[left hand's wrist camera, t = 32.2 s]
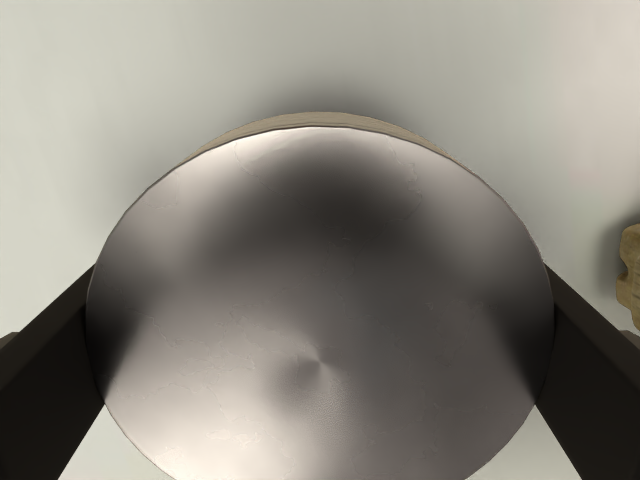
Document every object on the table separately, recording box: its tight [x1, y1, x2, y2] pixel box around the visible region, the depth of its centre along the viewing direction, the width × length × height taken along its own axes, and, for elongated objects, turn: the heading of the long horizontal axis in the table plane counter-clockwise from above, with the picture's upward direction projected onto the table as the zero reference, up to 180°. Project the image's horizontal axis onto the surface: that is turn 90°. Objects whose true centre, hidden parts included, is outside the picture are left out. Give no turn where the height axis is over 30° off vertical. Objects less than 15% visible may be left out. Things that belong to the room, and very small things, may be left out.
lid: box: [85, 112, 555, 480], centre depth 11 cm, size 10×10×2 cm
